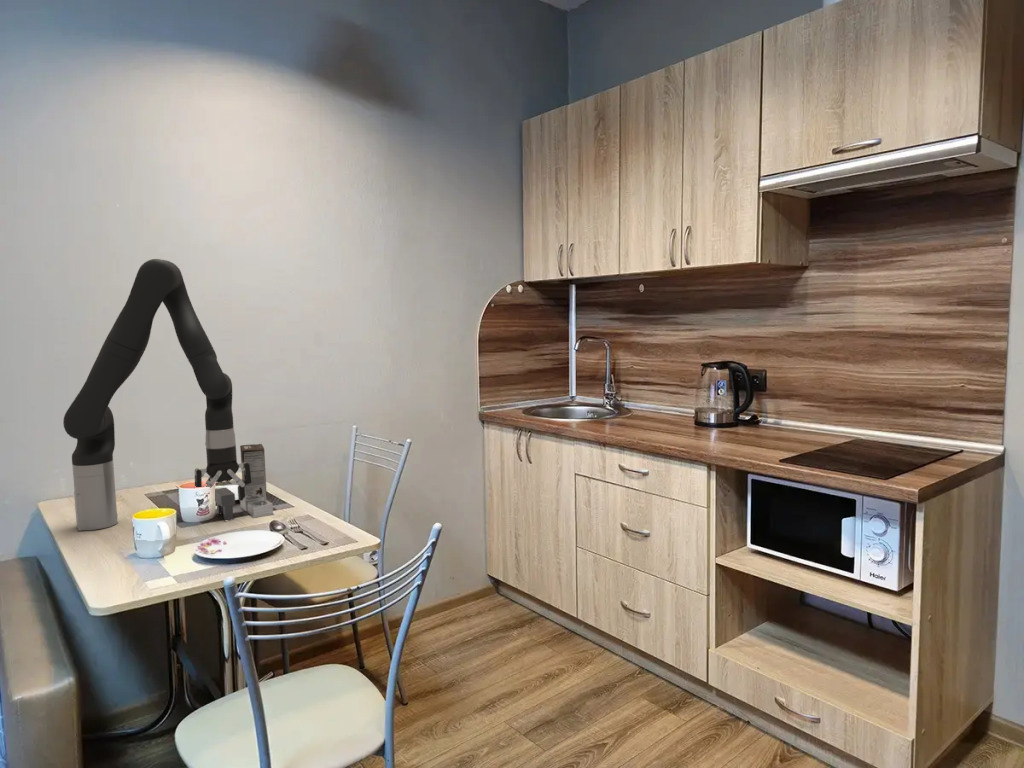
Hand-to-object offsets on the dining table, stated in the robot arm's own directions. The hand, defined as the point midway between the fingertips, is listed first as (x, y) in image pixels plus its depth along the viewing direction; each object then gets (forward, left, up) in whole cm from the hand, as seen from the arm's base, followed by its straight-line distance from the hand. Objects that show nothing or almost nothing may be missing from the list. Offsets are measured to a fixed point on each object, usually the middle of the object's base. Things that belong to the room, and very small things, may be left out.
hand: (224, 502), depth 186 cm
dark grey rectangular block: (0, 0, -4) cm, 4 cm away
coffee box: (+12, +14, -4) cm, 19 cm away
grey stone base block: (+8, 0, -4) cm, 9 cm away
